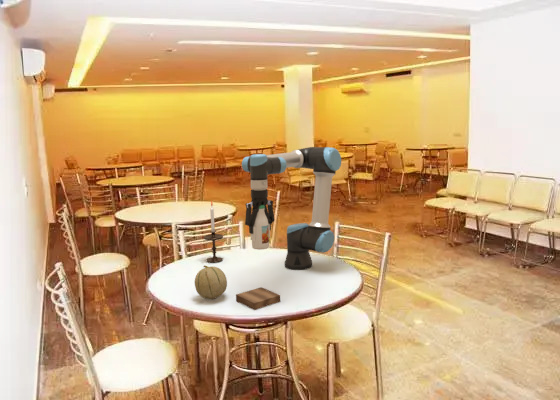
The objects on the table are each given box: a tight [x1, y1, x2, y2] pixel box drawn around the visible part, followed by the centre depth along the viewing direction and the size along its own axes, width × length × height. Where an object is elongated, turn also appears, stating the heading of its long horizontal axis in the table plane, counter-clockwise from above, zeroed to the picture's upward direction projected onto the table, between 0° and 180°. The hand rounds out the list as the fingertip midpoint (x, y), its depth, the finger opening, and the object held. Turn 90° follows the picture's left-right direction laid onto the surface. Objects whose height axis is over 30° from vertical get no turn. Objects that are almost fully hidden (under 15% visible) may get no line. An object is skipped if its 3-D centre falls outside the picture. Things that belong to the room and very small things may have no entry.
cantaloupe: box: [194, 265, 228, 300], centre depth 223 cm, size 15×15×15 cm
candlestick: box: [203, 200, 224, 264], centre depth 280 cm, size 11×11×35 cm
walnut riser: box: [235, 286, 281, 311], centre depth 218 cm, size 14×14×3 cm
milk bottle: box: [251, 205, 270, 250], centre depth 223 cm, size 8×8×20 cm
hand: (260, 238), depth 224 cm, fingers closed on milk bottle, 7 cm apart
